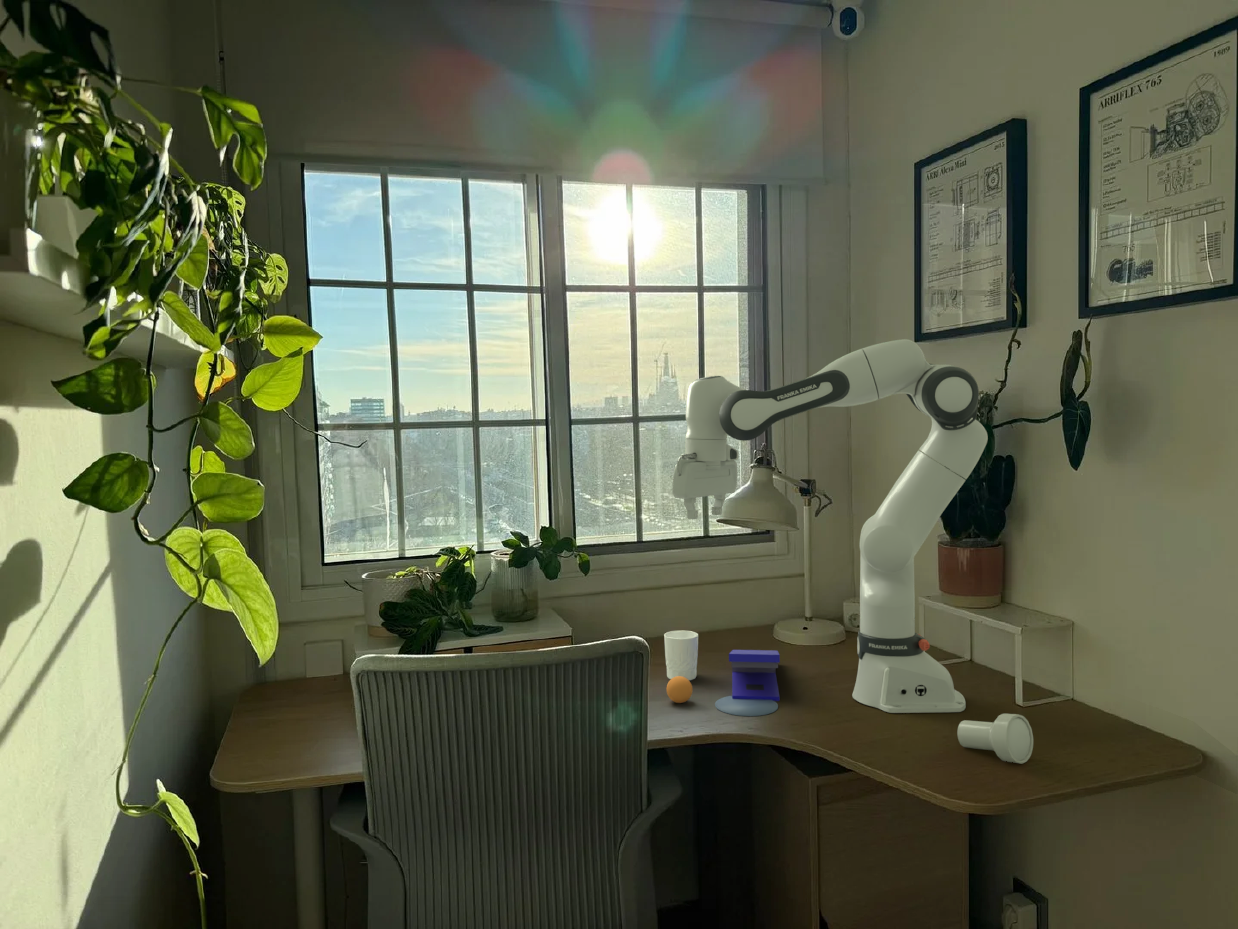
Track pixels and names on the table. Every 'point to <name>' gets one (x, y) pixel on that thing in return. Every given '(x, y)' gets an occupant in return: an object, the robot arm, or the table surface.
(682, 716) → the table surface
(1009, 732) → the spotlight
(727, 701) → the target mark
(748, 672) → the stapler
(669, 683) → the ball
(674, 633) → the white cup
